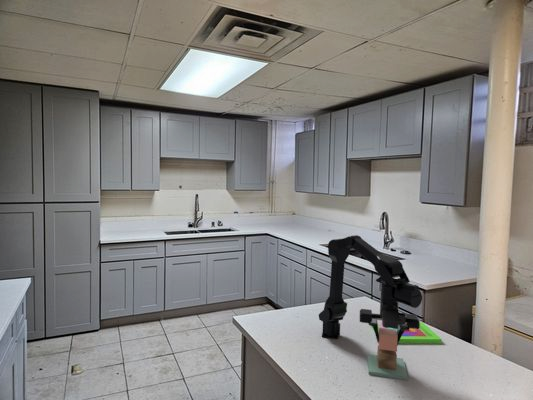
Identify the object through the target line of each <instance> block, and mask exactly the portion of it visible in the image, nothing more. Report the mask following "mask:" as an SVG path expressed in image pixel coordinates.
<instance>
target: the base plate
mask: <svg viewBox="0 0 533 400" xmlns="http://www.w3.org/2000/svg"><path fill="white" fill-rule="evenodd" d="M366 355H367V370H368V371H367V372H368V375H371V376H379V377H383V378H391V379H398V380H399V379H400V380H405V381H408V380H409V377H408V376H409V375H408V373H407V368H406V365H405V361H404V358H401V357H397V362H396V370H391V369H384V368H378V361H377V354H371V353H367V354H366Z"/></svg>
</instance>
